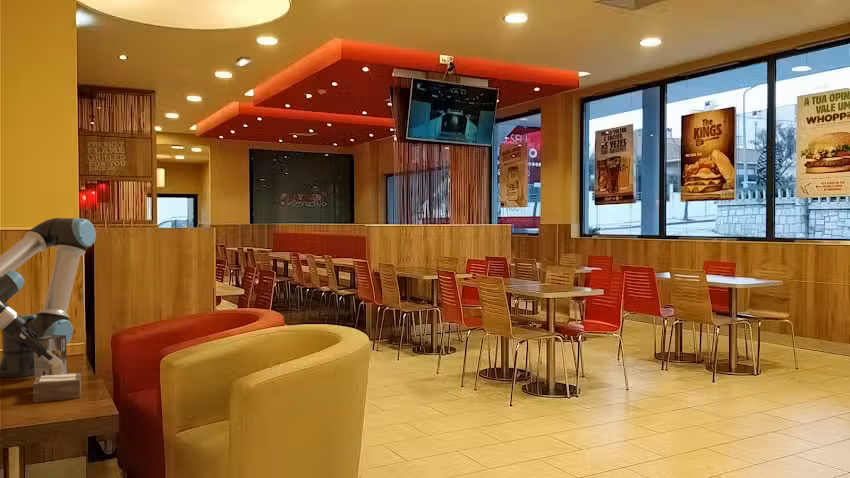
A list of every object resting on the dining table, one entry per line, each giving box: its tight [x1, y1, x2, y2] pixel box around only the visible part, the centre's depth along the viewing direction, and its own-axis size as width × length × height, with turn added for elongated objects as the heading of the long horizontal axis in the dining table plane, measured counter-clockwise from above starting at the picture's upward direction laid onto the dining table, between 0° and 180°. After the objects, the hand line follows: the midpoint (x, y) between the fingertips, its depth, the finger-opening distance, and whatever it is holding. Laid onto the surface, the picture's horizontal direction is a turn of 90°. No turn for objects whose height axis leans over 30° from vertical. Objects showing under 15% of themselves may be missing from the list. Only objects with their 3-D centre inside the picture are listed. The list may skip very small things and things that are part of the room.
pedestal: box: [32, 372, 82, 403], centre depth 240 cm, size 14×14×6 cm
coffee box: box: [34, 335, 68, 380], centre depth 253 cm, size 9×6×16 cm
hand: (59, 361), depth 254 cm, fingers closed on coffee box, 10 cm apart
